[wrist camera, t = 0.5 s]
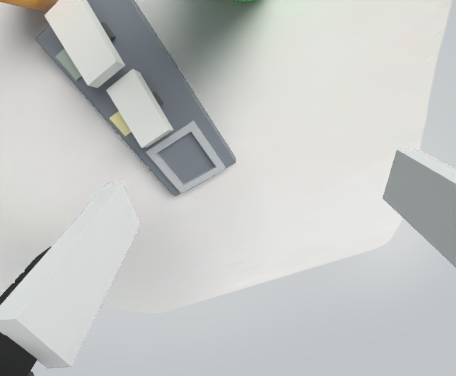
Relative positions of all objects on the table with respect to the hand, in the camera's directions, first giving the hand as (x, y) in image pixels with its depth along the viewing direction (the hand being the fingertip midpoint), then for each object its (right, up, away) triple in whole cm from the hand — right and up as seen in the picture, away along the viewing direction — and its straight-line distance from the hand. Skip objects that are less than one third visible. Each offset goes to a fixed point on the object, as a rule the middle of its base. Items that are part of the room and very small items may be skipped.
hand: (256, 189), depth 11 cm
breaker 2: (-12, +10, +17) cm, 23 cm away
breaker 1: (-17, +16, +13) cm, 27 cm away
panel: (-12, +12, +21) cm, 27 cm away
